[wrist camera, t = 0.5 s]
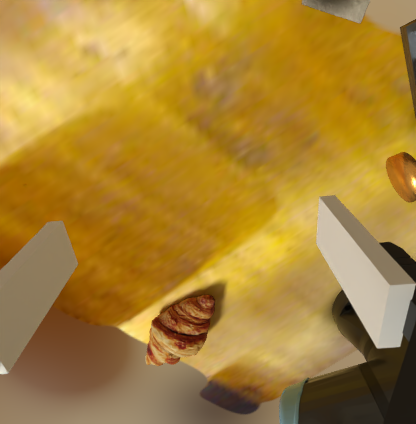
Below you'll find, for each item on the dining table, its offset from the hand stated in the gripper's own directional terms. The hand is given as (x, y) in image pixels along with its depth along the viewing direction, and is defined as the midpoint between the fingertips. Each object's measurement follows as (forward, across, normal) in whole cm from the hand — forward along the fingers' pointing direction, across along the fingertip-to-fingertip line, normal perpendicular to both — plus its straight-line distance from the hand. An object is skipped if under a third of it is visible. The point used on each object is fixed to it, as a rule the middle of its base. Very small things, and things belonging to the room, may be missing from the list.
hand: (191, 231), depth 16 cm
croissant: (+28, +9, +35) cm, 46 cm away
